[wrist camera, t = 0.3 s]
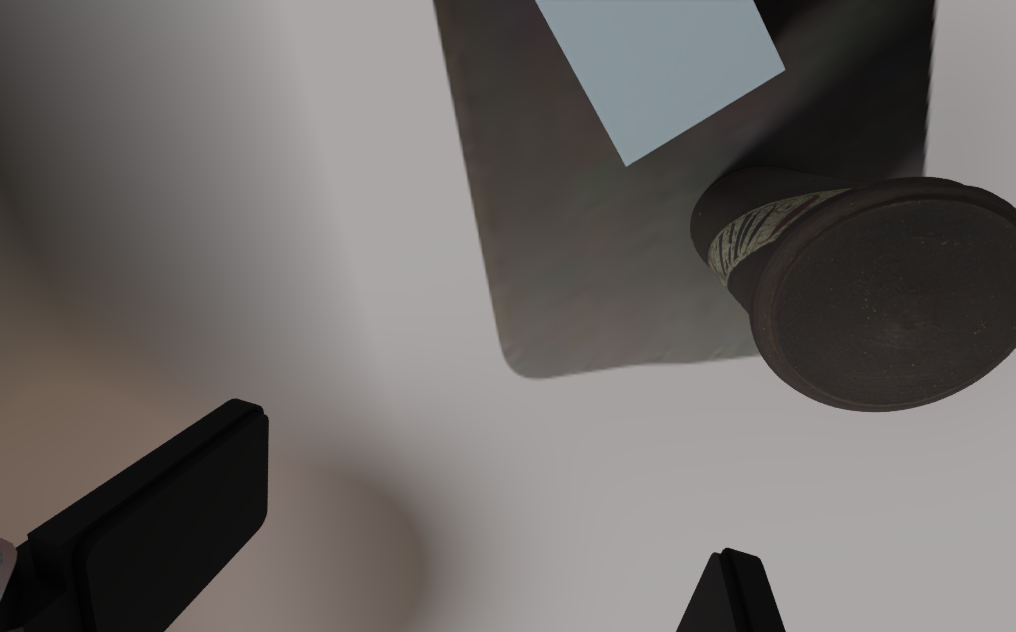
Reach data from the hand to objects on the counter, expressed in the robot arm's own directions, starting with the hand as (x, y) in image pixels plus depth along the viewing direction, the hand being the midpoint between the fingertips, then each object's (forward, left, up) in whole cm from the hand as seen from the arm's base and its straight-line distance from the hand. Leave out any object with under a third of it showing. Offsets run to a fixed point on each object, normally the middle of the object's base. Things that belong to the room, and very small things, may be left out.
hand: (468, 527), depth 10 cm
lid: (-10, -12, -25) cm, 30 cm away
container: (-11, +5, -30) cm, 33 cm away
